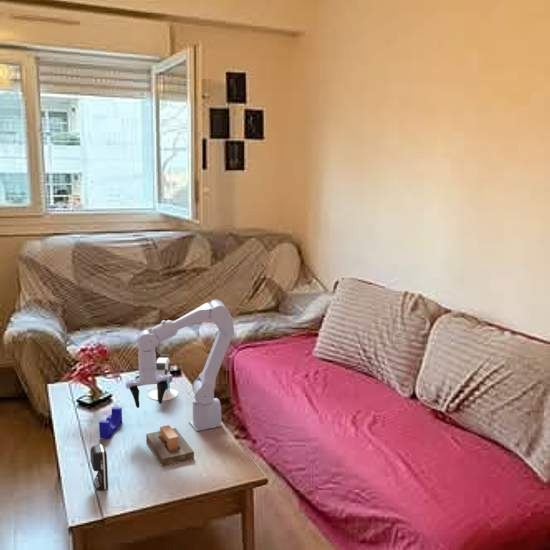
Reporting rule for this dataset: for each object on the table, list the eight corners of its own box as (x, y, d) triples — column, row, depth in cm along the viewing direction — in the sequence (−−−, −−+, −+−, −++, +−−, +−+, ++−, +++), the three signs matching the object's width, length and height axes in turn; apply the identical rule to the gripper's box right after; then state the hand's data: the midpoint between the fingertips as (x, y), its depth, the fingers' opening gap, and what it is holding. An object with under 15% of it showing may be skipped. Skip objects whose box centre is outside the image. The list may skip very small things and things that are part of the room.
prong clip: (169, 441, 194) (169, 425, 193) (178, 454, 187) (178, 436, 185) (160, 443, 193) (160, 426, 192) (169, 456, 185) (168, 438, 184)
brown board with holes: (175, 434, 199) (175, 427, 199) (194, 459, 184) (193, 451, 183) (146, 440, 195) (146, 433, 194) (162, 466, 179) (162, 458, 179)
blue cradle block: (110, 422, 208) (109, 406, 207) (122, 423, 207) (121, 407, 206) (95, 438, 196) (94, 422, 195) (108, 439, 196) (107, 422, 195)
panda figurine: (175, 401, 226) (174, 364, 223) (145, 401, 226) (144, 363, 223) (180, 389, 237) (179, 353, 234) (152, 388, 238) (151, 353, 235)
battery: (91, 480, 171) (89, 444, 169) (104, 477, 173) (102, 441, 171) (94, 492, 165) (92, 455, 163) (108, 489, 167) (106, 452, 164)
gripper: (165, 359, 204) (166, 396, 207) (122, 365, 198) (124, 403, 201) (171, 366, 198) (172, 404, 201) (128, 372, 192) (129, 412, 194)
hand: (148, 404), depth 200 cm, fingers open, 7 cm apart
